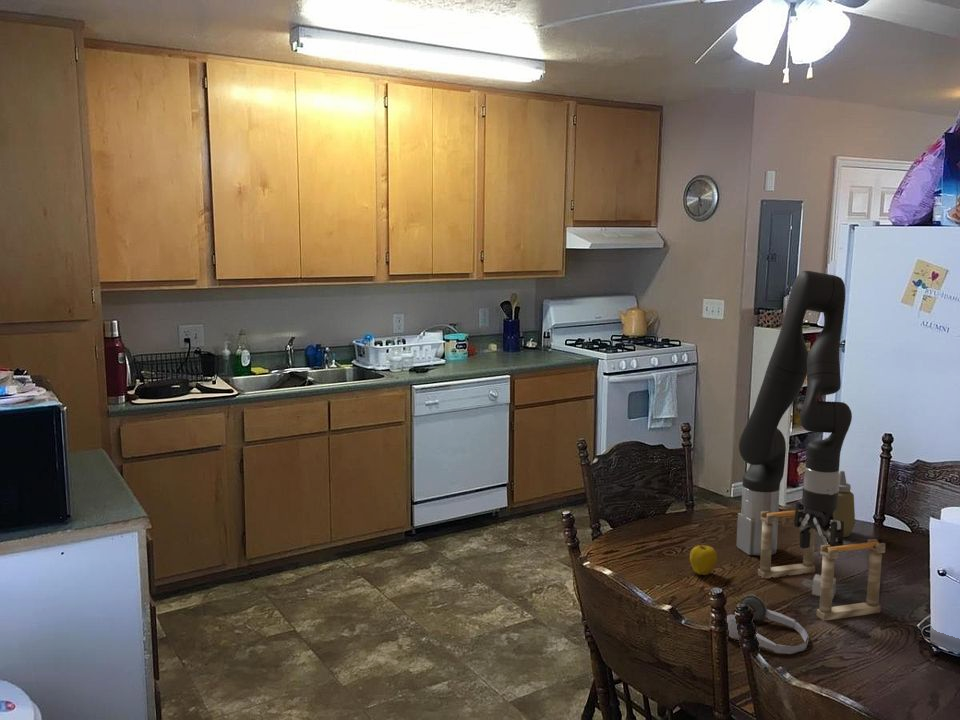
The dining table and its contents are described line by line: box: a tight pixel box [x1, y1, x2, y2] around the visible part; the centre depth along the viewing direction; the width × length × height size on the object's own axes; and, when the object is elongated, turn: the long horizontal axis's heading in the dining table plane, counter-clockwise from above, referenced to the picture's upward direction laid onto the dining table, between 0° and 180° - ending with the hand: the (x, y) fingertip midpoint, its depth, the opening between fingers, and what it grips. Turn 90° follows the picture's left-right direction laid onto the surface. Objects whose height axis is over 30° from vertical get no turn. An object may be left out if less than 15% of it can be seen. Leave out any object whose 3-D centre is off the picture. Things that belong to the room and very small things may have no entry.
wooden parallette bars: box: [757, 511, 886, 621], centre depth 182 cm, size 14×25×16 cm, turn 14°
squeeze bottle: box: [826, 470, 856, 538], centre depth 217 cm, size 8×8×18 cm
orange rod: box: [827, 541, 879, 553], centre depth 170 cm, size 13×1×1 cm, turn 104°
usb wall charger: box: [801, 573, 837, 600], centre depth 182 cm, size 4×7×4 cm, turn 57°
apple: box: [689, 544, 718, 576], centre depth 193 cm, size 6×6×8 cm
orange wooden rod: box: [766, 510, 795, 518], centre depth 191 cm, size 13×1×1 cm, turn 104°
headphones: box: [727, 587, 810, 655], centre depth 165 cm, size 17×6×20 cm
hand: (816, 554), depth 181 cm, fingers open, 8 cm apart
